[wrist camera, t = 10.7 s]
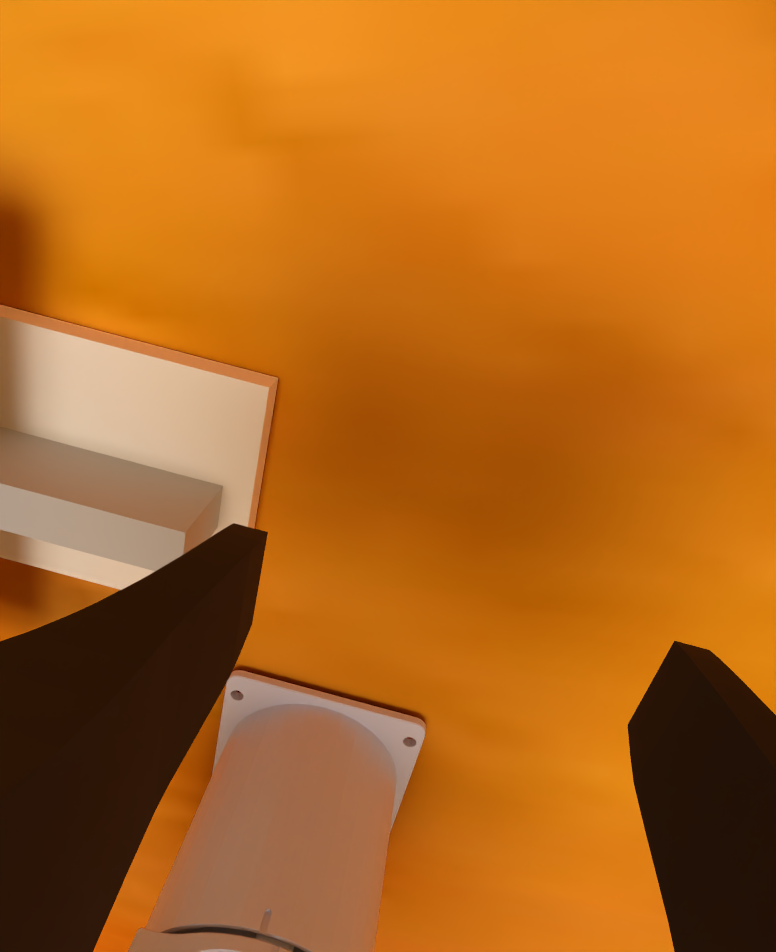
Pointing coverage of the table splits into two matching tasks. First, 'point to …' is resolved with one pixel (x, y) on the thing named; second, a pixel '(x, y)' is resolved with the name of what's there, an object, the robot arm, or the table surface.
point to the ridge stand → (121, 449)
